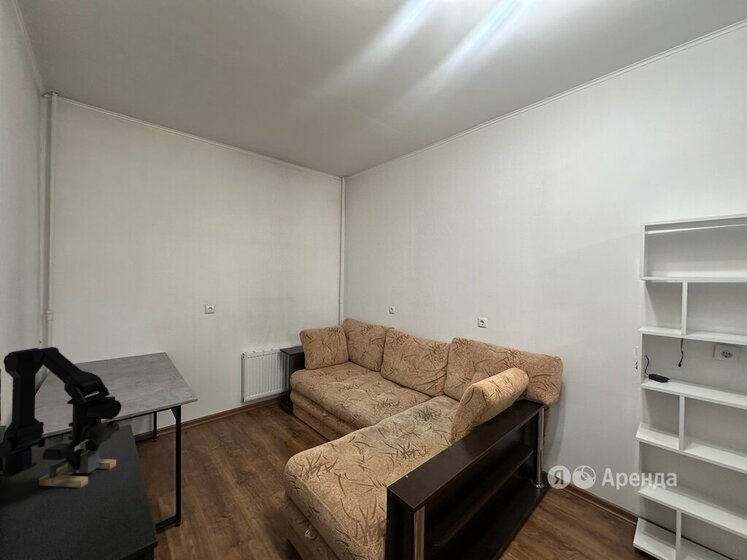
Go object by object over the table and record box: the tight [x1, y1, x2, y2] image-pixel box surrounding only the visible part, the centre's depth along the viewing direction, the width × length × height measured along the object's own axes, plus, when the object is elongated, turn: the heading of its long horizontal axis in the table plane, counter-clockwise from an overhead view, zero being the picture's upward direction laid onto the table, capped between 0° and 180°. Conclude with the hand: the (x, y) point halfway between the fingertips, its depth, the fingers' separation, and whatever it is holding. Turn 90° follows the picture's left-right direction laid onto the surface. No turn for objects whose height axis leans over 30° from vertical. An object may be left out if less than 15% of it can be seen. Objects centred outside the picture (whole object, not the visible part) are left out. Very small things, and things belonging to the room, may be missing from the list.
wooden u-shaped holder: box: [38, 448, 117, 489], centre depth 95 cm, size 14×11×5 cm
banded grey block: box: [67, 449, 100, 474], centre depth 95 cm, size 4×7×5 cm, turn 85°
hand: (83, 466), depth 95 cm, fingers closed on banded grey block, 4 cm apart
